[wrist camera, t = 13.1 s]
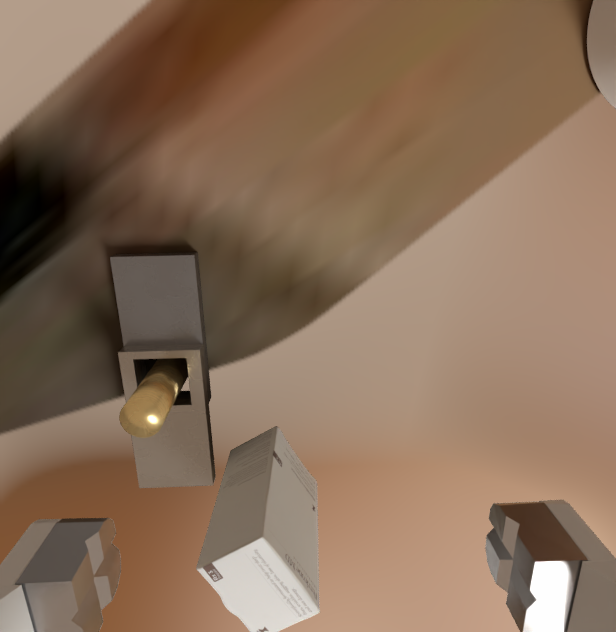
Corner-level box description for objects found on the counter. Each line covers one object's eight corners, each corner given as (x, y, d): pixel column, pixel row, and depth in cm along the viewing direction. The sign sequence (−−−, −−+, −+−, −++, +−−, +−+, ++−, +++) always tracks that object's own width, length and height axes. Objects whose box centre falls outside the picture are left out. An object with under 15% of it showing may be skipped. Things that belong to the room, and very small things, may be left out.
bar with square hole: (197, 252, 39) (190, 258, 36) (217, 467, 45) (213, 485, 43) (116, 254, 39) (103, 260, 36) (148, 469, 45) (139, 488, 43)
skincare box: (317, 480, 46) (329, 615, 32) (269, 506, 47) (259, 649, 33) (274, 420, 44) (265, 537, 30) (223, 448, 45) (192, 575, 31)
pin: (187, 352, 42) (159, 399, 33) (191, 383, 43) (165, 437, 34) (153, 353, 41) (116, 400, 33) (157, 385, 42) (122, 438, 34)
